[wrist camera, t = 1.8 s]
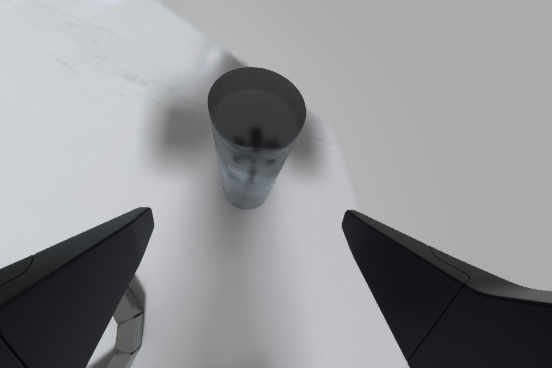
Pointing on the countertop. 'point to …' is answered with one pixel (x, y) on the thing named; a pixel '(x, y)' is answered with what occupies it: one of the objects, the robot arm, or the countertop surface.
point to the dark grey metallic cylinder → (253, 130)
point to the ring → (127, 331)
